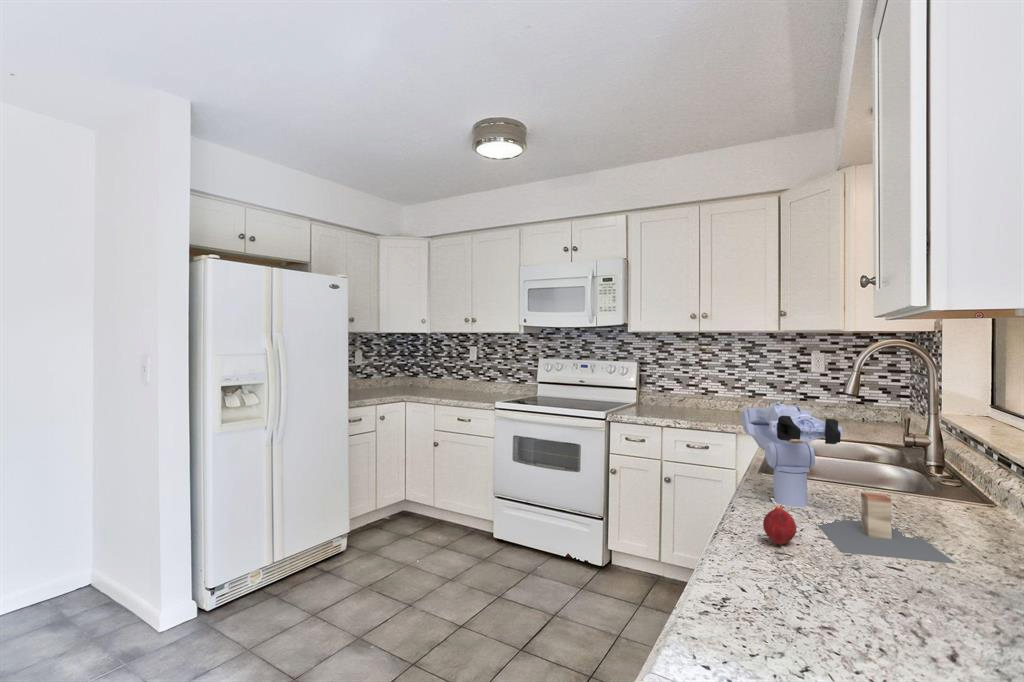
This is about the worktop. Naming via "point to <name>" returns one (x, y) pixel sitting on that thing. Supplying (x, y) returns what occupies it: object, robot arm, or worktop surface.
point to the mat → (880, 543)
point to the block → (876, 515)
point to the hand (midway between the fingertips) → (818, 436)
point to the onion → (779, 525)
